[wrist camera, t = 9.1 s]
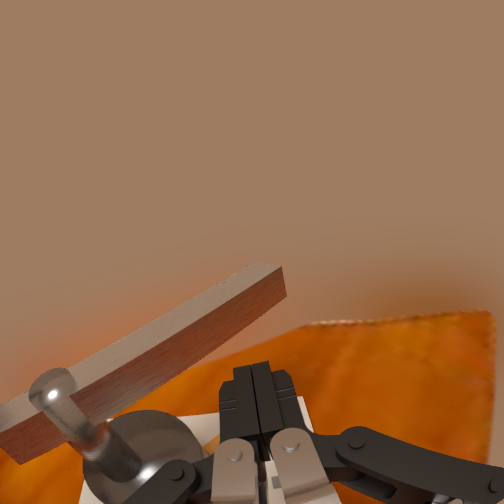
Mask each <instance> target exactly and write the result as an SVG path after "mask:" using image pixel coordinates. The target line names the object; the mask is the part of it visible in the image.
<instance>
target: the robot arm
mask: <svg viewBox="0 0 504 504" xmlns="http://www.w3.org/2000/svg"><path fill="white" fill-rule="evenodd" d="M233 375H234V380H232V381H226V382H223V384H222V386H221V388H220V390H219V410H220V411H219V423H220V443H219V446H218V447H217V448H216V450H215V452H214V453H213V454H212V455H210V456H209V457H207V458H205V459H202V460H199V461H196V462H194V463H189V462H188V461H186V460H182V459H175V460H171V461H168V462H167V463H165V464H164V465H163V466H162V467H161V468H160V469H159V470H158V471H157V472H156V473H155V474H153V475H152V476H151V477H150V478H149V479H148V480H147V481H146V482H145V483H144V484H143V485H142V486H141V487H140V488H138V489H137V490H136V491H135V492H134V493H133V494H132V495H131V496H130V497H128V498H127V499H126V500H125V501H124V502H123V503H122V504H269V494H268V479H267V472H266V465H265V462H267V461H271V458H270V455H271V457H272V460H274V463H275V467H276V470H277V473H278V477H279V480H280V483H281V487H282V490H283V494H284V499H285V502H286V504H341V501H340V499H339V497H338V495H337V492H336V490H335V488H334V486H333V484H332V483H331V482H337V481H338V482H340V483H341V484H343V485H345V486H347V487H349V488H352V489H354V490H356V491H358V492H360V493H362V494H365V495H367V496H369V497H372V498H374V499H377V500H379V501H381V502H384V503H387V504H496V503H498V502H499V501H501V500H502V499H504V468H502V467H495V466H490V465H485V464H481V463H476V462H472V461H467V460H463V459H459V458H455V457H452V456H448V455H444V454H441V453H437V452H434V451H431V450H428V449H424V448H421V447H418V446H415V445H412V444H409V443H406V442H403V441H401V440H398V439H395V438H392V437H390V436H387V435H384V434H382V433H379V432H377V431H374V430H372V429H369V428H366V427H362V426H356V427H351V428H348V429H346V430H345V431H343V432H342V433H341V434H340V435H319V434H316V433H314V432H312V431H310V430H309V429H308V428H307V426H306V424H305V422H304V418H303V415H302V412H301V408H300V405H299V402H298V399H297V396H296V392H295V389H294V385H293V382H292V379H291V376H290V375H289V374H288V373H287V372H286V371H285V370H279V371H275V372H271V369H270V365H269V361H264V362H260V363H255V364H252V368H251V365H246V366H241V367H236V368H233ZM269 452H270V453H269Z"/></svg>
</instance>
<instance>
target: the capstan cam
mask: <svg viewBox="0 0 504 504" xmlns="http://www.w3.org/2000/svg"><path fill="white" fill-rule="evenodd" d="M285 297H287V295H286V289H285V283H284V277H283V271H282V266H279V265H275V264H269V263H265V262H259V261H255V262H254V263H252V264H250V265H248V266H247V267H245V268H243V269H241V270H240V271H238V272H236V273H235V274H233V275H231V276H229V277H228V278H226V279H224V280H223V281H221V282H219V283H217V284H216V285H214V286H212V287H210V288H209V289H207V290H205V291H204V292H202V293H200V294H199V295H197V296H195V297H193V298H191V299H190V300H188V301H186V302H184V303H183V304H181V305H179V306H178V307H176V308H174V309H173V310H171V311H169V312H167V313H165V314H164V315H162V316H160V317H158V318H157V319H155V320H153V321H151V322H150V323H148V324H146V325H144V326H143V327H141V328H139V329H137V330H135V331H134V332H132V333H130V334H128V335H127V336H125V337H123V338H121V339H120V340H118V341H116V342H114V343H113V344H111V345H109V346H107V347H105V348H104V349H102V350H100V351H98V352H97V353H95V354H93V355H91V356H89V357H88V358H86V359H84V360H82V361H80V362H79V363H77V364H75V365H73V366H72V367H70V368H68V369H65V368H55V369H51V370H49V371H47V372H45V373H43V374H42V375H41V376H40V377H38V378H37V379H36V380H35V381H34V383H33V384H32V386H31V388H30V390H28V391H26V392H24V393H22V394H21V395H19V396H17V397H15V398H13V399H11V400H10V401H8V402H6V403H4V404H2V405H0V447H1V448H2V449H3V450H4V451H5V452H6V453H7V454H8V455H9V456H11V457H12V458H13V459H14V460H15V461H16V462H17V463H18V464H20V465H22V464H24V463H26V462H28V461H30V460H32V459H34V458H36V457H38V456H40V455H42V454H44V453H46V452H48V451H50V450H52V449H54V448H56V447H58V446H60V445H62V444H64V443H66V442H67V443H68V444H69V445H70V446H71V447H72V448H73V449H75V450H76V451H77V452H78V453H79V454H80V455H81V456H82V457H83V474H84V478H85V481H86V483H87V485H88V487H89V489H90V490H91V492H92V493H93V494H94V496H96V497H97V498H98V499H99V500H100V501H101V502H103V503H104V504H122V503H123V502H124V501H125V500H126V499H127V498H128V497H130V496H131V495H132V494H133V493H134V492H135V491H136V490H137V489H138V488H140V487H141V486H142V485H143V484H144V483H145V482H146V481H147V480H148V479H149V478H150V477H151V476H152V475H153V474H155V473H156V472H157V471H158V470H159V469H160V468H161V467H162V466H163V465H164V464H165V463H167V462H168V461H171V460H175V459H182V460H186V461H188V462H189V463H194V462H196V461H199V460H202V459H205V458H207V457H209V455H208V454H207V452H206V451H205V450H204V448H203V447H202V445H201V444H200V443H199V441H198V440H197V439H196V437H195V436H194V434H193V433H192V431H191V430H190V429H189V427H188V426H187V425H186V424H185V423H184V422H182V421H181V420H180V419H178V418H177V417H175V416H173V415H171V414H168V413H165V412H161V411H155V410H140V411H134V412H130V413H126V414H123V415H121V416H119V417H116V418H115V419H113V420H111V421H109V422H107V421H106V420H107V419H108V418H110V417H112V416H113V415H115V414H117V413H118V412H120V411H122V410H123V409H125V408H127V407H128V406H130V405H132V404H133V403H135V402H137V401H138V400H140V399H141V398H143V397H145V396H146V395H148V394H149V393H151V392H152V391H154V390H156V389H157V388H159V387H160V386H162V385H163V384H165V383H166V382H168V381H169V380H171V379H172V378H174V377H176V376H177V375H179V374H180V373H182V372H183V371H185V370H186V369H187V368H189V367H190V366H192V365H193V364H195V363H196V362H198V361H199V360H201V359H202V358H204V357H205V356H206V355H208V354H209V353H211V352H212V351H214V350H215V349H216V348H218V347H219V346H221V345H222V344H224V343H225V342H226V341H228V340H229V339H231V338H232V337H233V336H235V335H236V334H237V333H239V332H240V331H242V330H243V329H244V328H246V327H247V326H248V325H250V324H251V323H252V322H254V321H255V320H256V319H258V318H259V317H261V316H262V315H263V314H264V313H266V312H267V311H268V310H270V309H271V308H272V307H274V306H275V305H276V304H278V303H279V302H280V301H282V300H283V299H284V298H285Z"/></svg>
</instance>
